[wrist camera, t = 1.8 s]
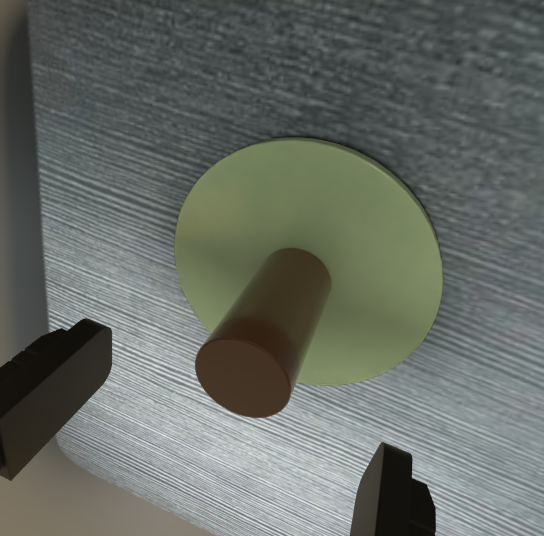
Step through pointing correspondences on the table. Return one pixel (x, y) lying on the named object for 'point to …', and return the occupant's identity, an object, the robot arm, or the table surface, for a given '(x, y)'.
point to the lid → (303, 271)
